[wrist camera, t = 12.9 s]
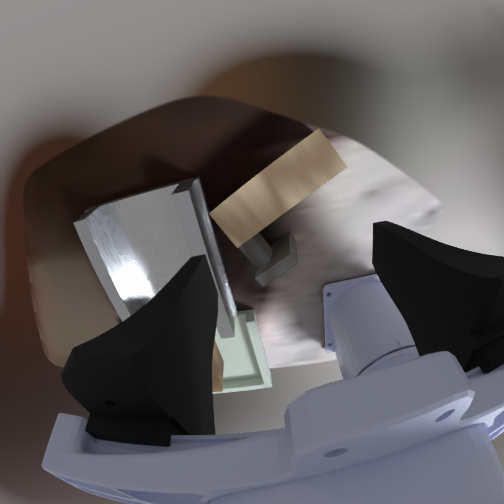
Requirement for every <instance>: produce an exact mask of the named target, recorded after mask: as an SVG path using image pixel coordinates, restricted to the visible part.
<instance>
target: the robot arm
mask: <svg viewBox="0 0 504 504" xmlns="http://www.w3.org/2000/svg"><path fill="white" fill-rule="evenodd" d="M372 264H373V266H374V268H375V271H376V273H377V274H373V275H368V276H364V277H359V278H354V279H350V280H345V281H340V282H335V283H330V284H326V285H325V286H324V287H323V306H324V329H325V351H326V353H333V352H335V353H336V356H337V360H338V363H339V366H340V370H341V373H342V376H343V380H339V381H335V382H331V383H328V384H325V385H322V386H319V387H316V388H313V389H310V390H307V391H306V392H305V393H303V394H302V395H300V396H299V397H297V398H296V399H295V400H293V401H292V402H291V403H290V404H288V407H287V410H286V412H285V415H284V418H285V426H286V428H282V429H275V430H267V431H258V432H249V433H238V434H222V435H215V426H214V411H213V390H212V359H213V349H214V341H215V334H216V326H217V318H218V291H217V288H216V285H215V282H214V279H213V276H212V273H211V270H210V267H209V264H208V261H207V257H206V254H203V255H198V256H193V257H191V258H190V259H189V260H188V261H187V262H186V263H185V264H184V265H183V266H182V267H181V268H180V270H179V271H178V272H177V273H176V274H175V275H174V276H173V277H172V278H171V280H170V281H169V282H168V283H167V284H166V285H165V286H164V287H163V288H162V289H161V290H160V291H159V292H158V293H157V294H156V295H155V296H154V297H153V298H152V299H151V300H150V301H148V302H147V303H146V304H145V305H144V306H143V307H141V308H140V309H139V310H138V311H137V312H135V313H134V314H132V315H131V316H130V317H128V318H127V319H125V320H124V321H123V322H121V323H120V324H118V325H117V326H115V327H113V328H112V329H110V330H108V331H107V332H105V333H103V334H101V335H100V336H98V337H96V338H94V339H92V340H89V341H87V342H85V343H83V344H81V345H79V346H76V347H74V348H73V349H72V352H71V354H70V356H69V358H68V360H67V362H66V364H65V367H64V369H63V371H62V373H61V379H62V381H63V384H64V386H65V387H66V389H67V390H68V391H69V392H70V393H71V395H72V396H73V397H74V398H75V399H76V400H77V401H78V402H79V403H80V404H81V405H83V407H85V408H86V409H87V410H88V411H89V412H90V416H89V419H88V420H87V419H85V418H83V417H79V416H74V415H69V414H63V413H60V414H58V417H57V420H56V422H55V425H54V428H53V431H52V434H51V437H50V440H49V443H48V446H47V450H46V453H45V456H44V459H43V463H42V467H43V469H44V470H46V471H48V472H49V473H51V474H53V475H55V476H56V477H58V478H60V479H62V480H64V481H65V482H67V483H69V484H71V485H73V486H75V487H77V488H79V489H81V490H83V491H85V492H88V493H91V494H94V495H98V496H101V497H105V498H108V499H112V500H115V501H120V502H123V503H127V504H504V473H503V470H502V467H501V464H500V462H499V459H498V457H497V454H496V451H495V449H494V447H493V444H492V442H491V440H492V439H494V438H495V437H497V436H498V435H499V434H501V433H502V432H503V431H504V257H502V256H494V255H487V254H481V253H476V252H472V251H468V250H464V249H460V248H457V247H453V246H450V245H447V244H444V243H441V242H438V241H436V240H433V239H431V238H428V237H426V236H423V235H421V234H419V233H416V232H414V231H411V230H409V229H407V228H404V227H402V226H399V225H397V224H394V223H391V222H388V221H382V222H377V223H373V257H372ZM327 293H330V294H328V295H327ZM329 343H330V344H329Z"/></svg>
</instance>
